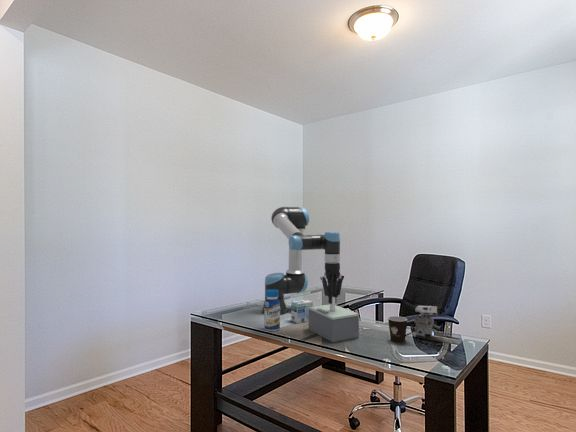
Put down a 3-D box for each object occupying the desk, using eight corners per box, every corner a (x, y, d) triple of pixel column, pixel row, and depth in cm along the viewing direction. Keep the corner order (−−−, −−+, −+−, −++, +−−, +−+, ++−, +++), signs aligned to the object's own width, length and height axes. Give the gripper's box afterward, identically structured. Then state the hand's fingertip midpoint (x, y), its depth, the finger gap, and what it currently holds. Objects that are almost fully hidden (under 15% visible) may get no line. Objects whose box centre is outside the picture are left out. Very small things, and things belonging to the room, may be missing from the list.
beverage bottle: (277, 325, 184) (277, 288, 184) (282, 330, 176) (282, 291, 176) (262, 327, 181) (262, 289, 182) (266, 332, 173) (266, 292, 174)
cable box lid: (308, 309, 178) (308, 306, 178) (332, 305, 185) (332, 302, 185) (332, 319, 159) (332, 316, 159) (358, 315, 165) (358, 312, 165)
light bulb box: (297, 323, 188) (297, 303, 188) (290, 320, 193) (290, 301, 194) (313, 320, 193) (313, 301, 194) (306, 317, 199) (306, 299, 199)
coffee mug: (384, 338, 163) (384, 317, 164) (399, 336, 167) (398, 315, 167) (400, 346, 153) (400, 324, 153) (416, 344, 156) (416, 321, 156)
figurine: (437, 342, 158) (437, 309, 158) (412, 337, 165) (412, 305, 166) (443, 337, 165) (443, 306, 165) (419, 332, 172) (418, 302, 173)
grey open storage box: (308, 329, 178) (308, 309, 178) (332, 325, 185) (332, 306, 185) (332, 342, 158) (332, 320, 159) (358, 337, 165) (358, 316, 165)
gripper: (325, 263, 166) (325, 313, 165) (347, 262, 172) (347, 310, 171) (317, 262, 173) (317, 309, 172) (338, 261, 178) (339, 306, 178)
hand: (332, 309), depth 172 cm, fingers closed
